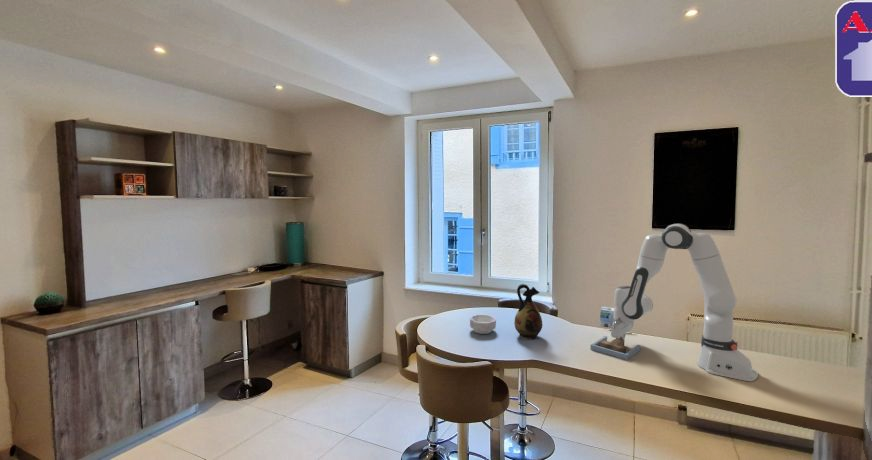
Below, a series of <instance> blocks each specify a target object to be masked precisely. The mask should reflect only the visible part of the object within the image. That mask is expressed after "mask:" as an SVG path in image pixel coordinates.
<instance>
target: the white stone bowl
mask: <svg viewBox="0 0 872 460" xmlns="http://www.w3.org/2000/svg"><path fill="white" fill-rule="evenodd" d="M469 327H470V328H471V329H472V330H473V331H474V332H475V333H476V334H481V335H487V334H490V333H492V331H493V330H494V329H495V330H496V327H497V319H496V317H495V316H492V315H489V314H475V315H472V316H470V317H469Z"/></svg>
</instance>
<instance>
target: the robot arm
mask: <svg viewBox="0 0 872 460" xmlns="http://www.w3.org/2000/svg"><path fill="white" fill-rule="evenodd" d="M668 249H674V250H687V251H688V252H689V254H690V258H691V261H692V263H693V266H694V269H695V273H696V274H697V277H698V281H699V284H700V286H701V290H702V292H703V295H704V310H703V311H704V314H703V317H704V318H703V334H702V335H701V339H700V341H701V342H700V344H701V350H700V351H701V352H700V354H699V358H698V359H697V362H696V363H697V366H699V367H700V368H701V369H703V370H705V371H706V372H707V373H709V374H711V375H717V376H720V377H721V376H722V377H727V378H731V379H736V380H740V381H745V382H755V381H756V380H757V379H758V377H759V372H758V371H757V370H755V369H753V365H752V362H751V360H750V358H749V357H747V356H746V355H745V354H744V353H743V352H742V351H740V350H739V349H738V341H735V340H734V339H733V333H734V309H735V308H736V305H737V303H738V302H737V297H736V294H735V291H734V289H733V286H732V283H731V281H730V278H729V276H728V273H727V270H726V268H725V267H726V266H725V265H724V262H723V259H722V256H721V252H720V250H719V249H718V246H717V244H716V242H715V241H714V238H713V237H712V236H711V235H710V234H709V233H706V232H698V233H693V232H692V230H691V229H690V227H689V226H688V225H687V224H685V223H680V222H678V223H677V222H676V223H673V224H669V225H667V226H666V228H665V229H664V230H663V231H662V233H661V234H657V233H652V234H648V235H647V236H645V238H644V240H643V242H642V244H641V248H640V249H639V250H640V251H639V255H638V260H637V265H636V268H635V272H634V274H633V277H632V280H631V284H630V286H629V285H622V286H618V287H616V288H615V292H614V296H613V297H614V301H613V303H614V307H613V308H614V319H615V322H613V324H612V328H610V329H611V330H610V336H611V337H612V338H614V339H616V338H620V339H623V340H625V338H626V335H627V333H628V332H630V331H631V330H633V329H634V323H635V320H639V319H640V318H641V317H642V316H644V315H646V314H648V313H650V312H652V310H653V308H654V303H653V300H652V299H651V297H649V296H648V295H645V291H646V287H647V284H649V282H650V280H652V279H653V278H654V277H655V276H656V275H657V274H659V273H660V271H661V269H662V268H663V265H664V264H665V263H664V262H665V258H666V254H667V251H668Z"/></svg>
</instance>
